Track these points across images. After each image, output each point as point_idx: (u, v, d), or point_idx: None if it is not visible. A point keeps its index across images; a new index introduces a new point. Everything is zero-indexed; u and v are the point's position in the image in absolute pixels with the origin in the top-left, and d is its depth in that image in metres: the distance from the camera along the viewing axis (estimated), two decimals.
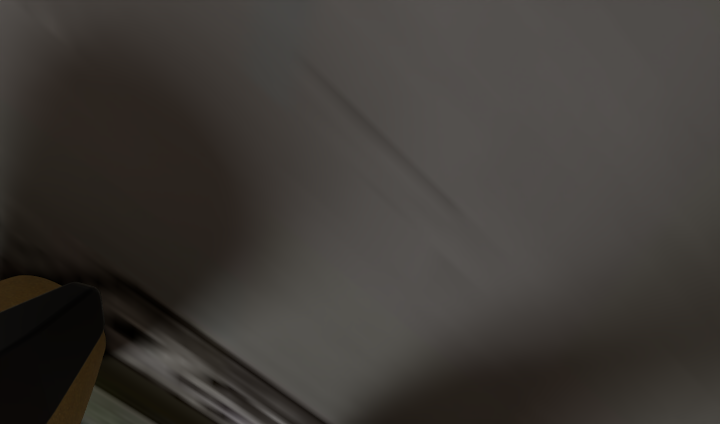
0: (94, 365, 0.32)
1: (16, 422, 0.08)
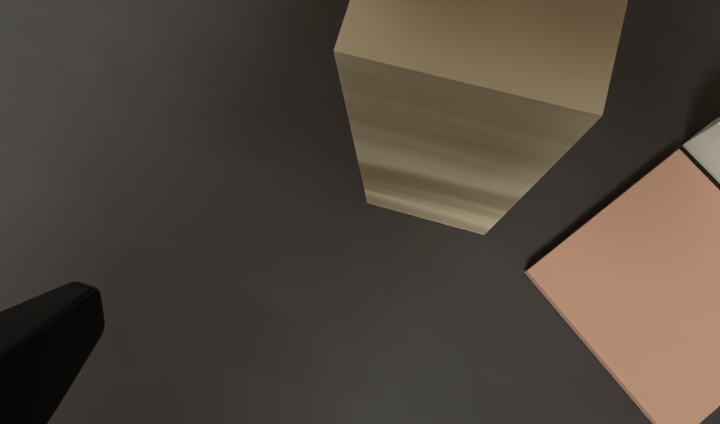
0: None
1: (16, 422, 0.08)
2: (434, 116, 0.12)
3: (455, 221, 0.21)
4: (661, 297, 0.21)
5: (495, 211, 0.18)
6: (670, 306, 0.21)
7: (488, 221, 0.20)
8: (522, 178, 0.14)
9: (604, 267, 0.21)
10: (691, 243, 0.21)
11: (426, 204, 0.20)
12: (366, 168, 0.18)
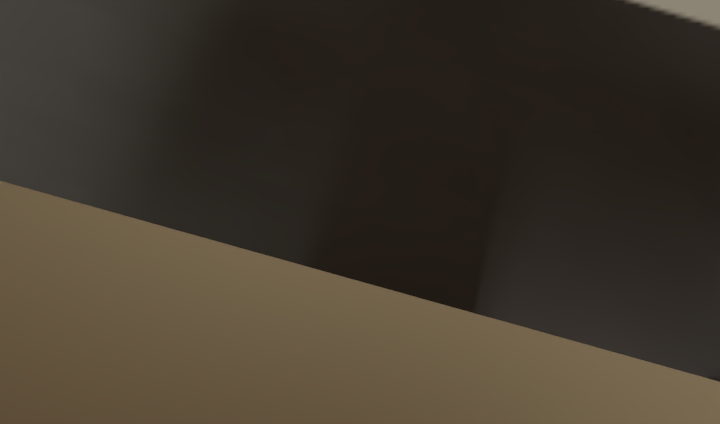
0: None
1: None
2: None
3: None
4: None
5: None
6: None
7: None
8: None
9: None
10: None
11: None
12: None
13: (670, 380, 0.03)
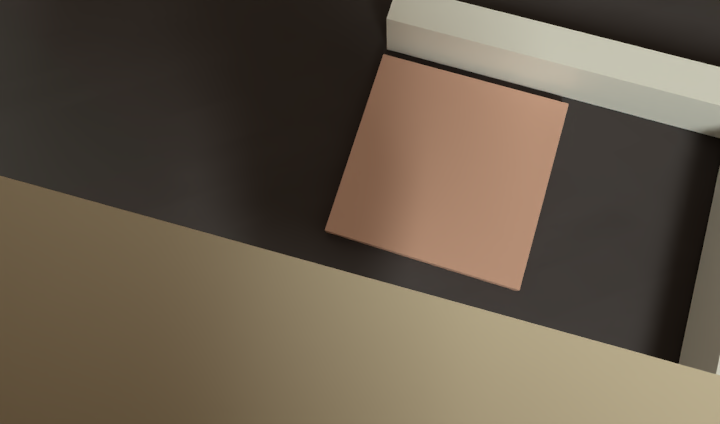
0: None
1: None
2: None
3: None
4: (440, 180, 0.22)
5: None
6: (451, 183, 0.22)
7: None
8: None
9: (383, 186, 0.22)
10: (437, 122, 0.23)
11: None
12: None
13: (668, 373, 0.03)
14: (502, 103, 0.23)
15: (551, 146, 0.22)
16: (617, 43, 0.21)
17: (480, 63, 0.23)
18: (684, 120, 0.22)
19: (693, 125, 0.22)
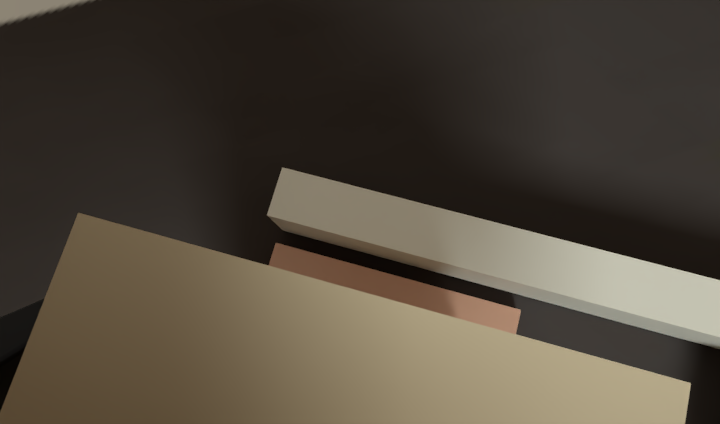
0: None
1: None
2: None
3: None
4: None
5: None
6: None
7: None
8: None
9: None
10: None
11: None
12: None
13: (590, 364, 0.04)
14: (432, 309, 0.17)
15: None
16: (580, 247, 0.15)
17: (401, 259, 0.17)
18: (676, 334, 0.16)
19: (688, 339, 0.16)
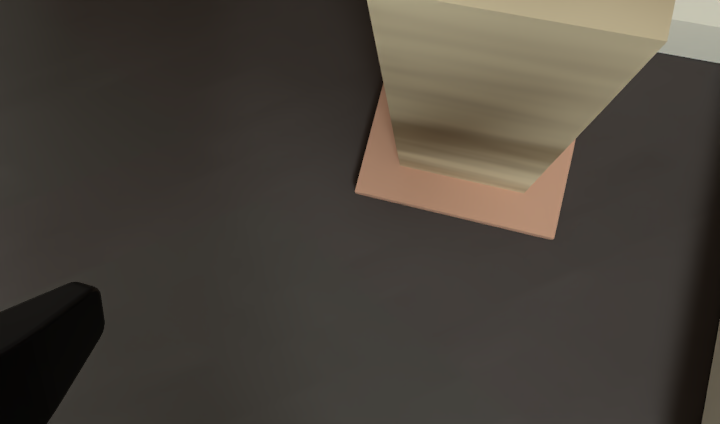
0: None
1: (16, 422, 0.08)
2: (474, 58, 0.11)
3: (493, 180, 0.21)
4: None
5: (537, 165, 0.17)
6: None
7: (529, 177, 0.19)
8: (569, 125, 0.13)
9: None
10: None
11: (462, 162, 0.19)
12: (399, 126, 0.17)
13: None
14: None
15: None
16: None
17: None
18: (719, 53, 0.21)
19: None
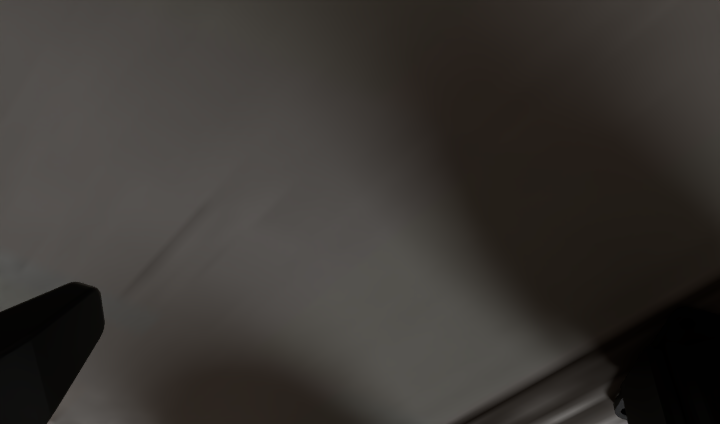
0: None
1: (16, 422, 0.08)
2: None
3: None
4: None
5: None
6: None
7: None
8: None
9: None
10: None
11: None
12: None
13: None
14: None
15: None
16: None
17: None
18: None
19: None
